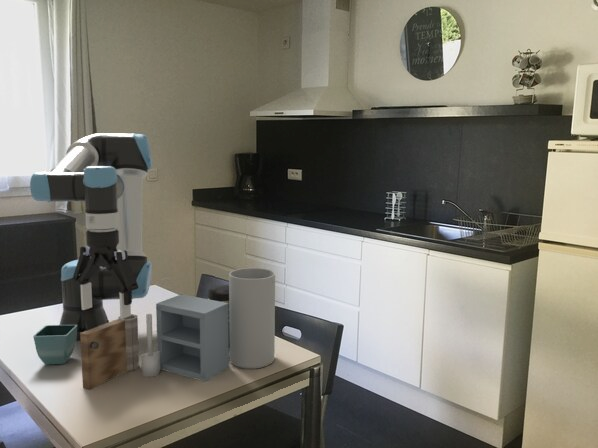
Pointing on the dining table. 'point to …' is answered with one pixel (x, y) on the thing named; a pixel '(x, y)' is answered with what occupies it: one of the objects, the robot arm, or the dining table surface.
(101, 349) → the brown panel with tube
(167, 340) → the cabinet
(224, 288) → the coffee jar
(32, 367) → the dining table surface
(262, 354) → the cylinder vase
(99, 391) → the dining table surface
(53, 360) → the flower pot
